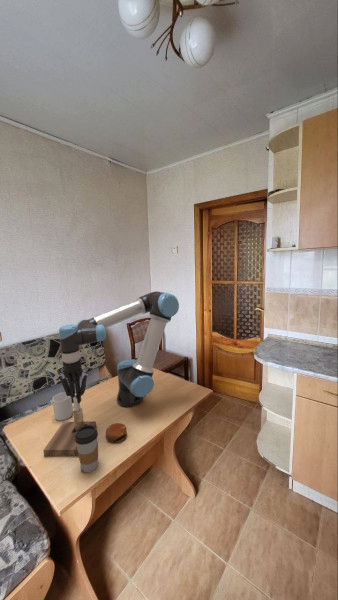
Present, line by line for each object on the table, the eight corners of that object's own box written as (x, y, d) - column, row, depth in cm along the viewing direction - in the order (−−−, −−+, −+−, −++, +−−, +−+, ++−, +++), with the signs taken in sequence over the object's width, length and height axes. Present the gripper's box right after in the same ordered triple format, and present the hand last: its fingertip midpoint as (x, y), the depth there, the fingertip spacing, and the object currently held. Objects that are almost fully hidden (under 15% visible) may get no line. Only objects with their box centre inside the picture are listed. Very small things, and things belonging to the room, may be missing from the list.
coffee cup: (81, 458, 100) (77, 425, 98) (102, 456, 101) (99, 423, 98) (75, 476, 92) (71, 440, 89) (98, 473, 92) (94, 437, 90)
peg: (86, 431, 116) (84, 407, 115) (83, 437, 112) (80, 413, 110) (77, 431, 117) (75, 407, 115) (73, 437, 112) (71, 413, 111)
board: (96, 426, 119) (96, 421, 119) (82, 456, 101) (81, 449, 101) (64, 427, 120) (63, 421, 119) (44, 456, 102) (43, 450, 102)
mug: (58, 424, 123) (55, 403, 121) (52, 416, 129) (49, 396, 127) (81, 413, 131) (79, 393, 129) (75, 406, 137) (72, 388, 135)
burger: (103, 434, 114) (103, 424, 113) (123, 427, 118) (122, 418, 118) (109, 447, 105) (108, 438, 105) (130, 439, 110) (129, 430, 109)
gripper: (89, 356, 112) (94, 404, 116) (61, 357, 113) (67, 404, 116) (83, 363, 105) (88, 413, 109) (53, 364, 105) (59, 414, 109)
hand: (77, 409), depth 113 cm, fingers closed
